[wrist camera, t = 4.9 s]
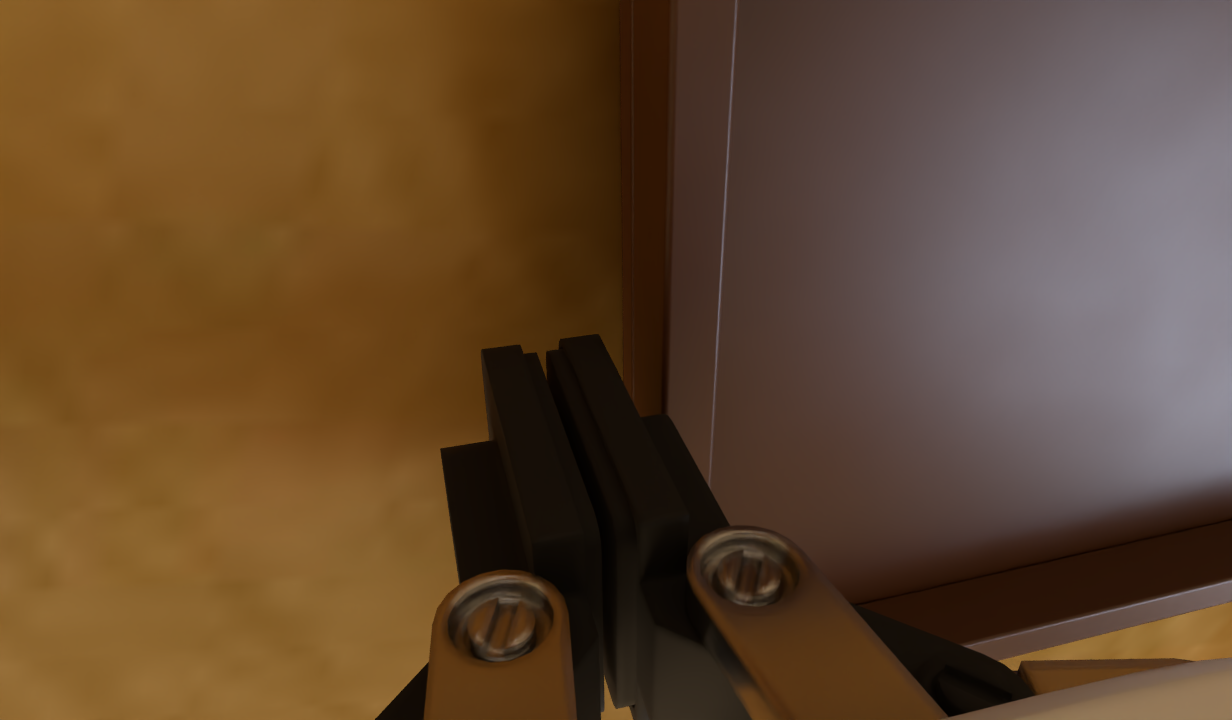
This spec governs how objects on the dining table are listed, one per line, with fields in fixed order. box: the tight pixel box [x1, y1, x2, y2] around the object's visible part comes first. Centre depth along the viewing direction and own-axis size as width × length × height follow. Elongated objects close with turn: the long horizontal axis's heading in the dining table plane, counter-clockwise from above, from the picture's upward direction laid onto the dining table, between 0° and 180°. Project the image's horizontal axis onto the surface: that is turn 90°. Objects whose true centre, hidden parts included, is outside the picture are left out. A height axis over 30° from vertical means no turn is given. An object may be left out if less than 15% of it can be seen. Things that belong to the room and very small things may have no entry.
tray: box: [620, 0, 1232, 661], centre depth 15 cm, size 14×20×2 cm
